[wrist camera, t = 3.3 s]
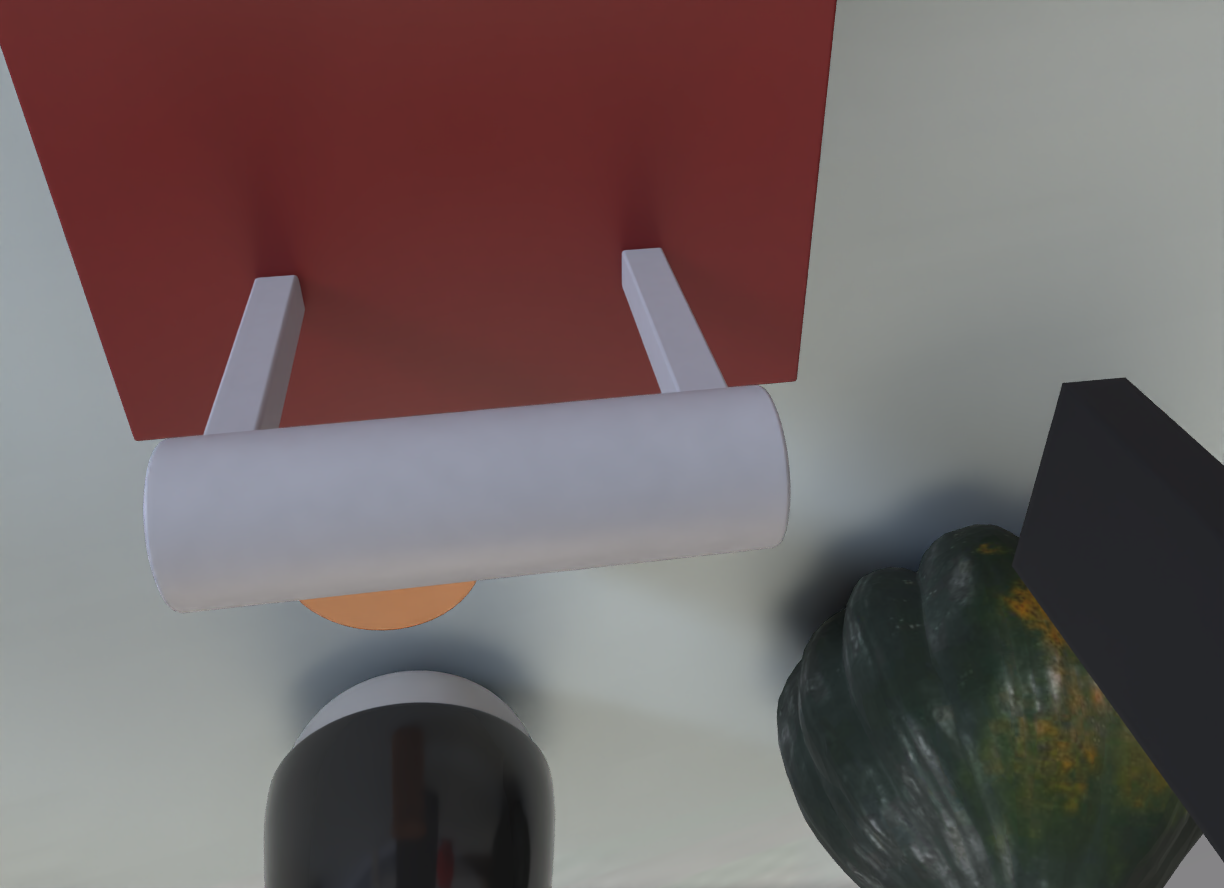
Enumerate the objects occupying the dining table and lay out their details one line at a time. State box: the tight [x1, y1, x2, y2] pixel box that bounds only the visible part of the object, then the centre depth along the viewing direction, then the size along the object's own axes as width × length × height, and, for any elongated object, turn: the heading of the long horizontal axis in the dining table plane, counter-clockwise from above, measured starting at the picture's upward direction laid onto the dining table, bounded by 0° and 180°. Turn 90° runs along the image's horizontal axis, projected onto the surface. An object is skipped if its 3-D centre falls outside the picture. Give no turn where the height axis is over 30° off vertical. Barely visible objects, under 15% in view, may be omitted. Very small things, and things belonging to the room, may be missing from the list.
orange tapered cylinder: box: [299, 581, 476, 630], centre depth 29 cm, size 5×5×6 cm
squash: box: [777, 524, 1203, 888], centre depth 36 cm, size 14×15×15 cm
